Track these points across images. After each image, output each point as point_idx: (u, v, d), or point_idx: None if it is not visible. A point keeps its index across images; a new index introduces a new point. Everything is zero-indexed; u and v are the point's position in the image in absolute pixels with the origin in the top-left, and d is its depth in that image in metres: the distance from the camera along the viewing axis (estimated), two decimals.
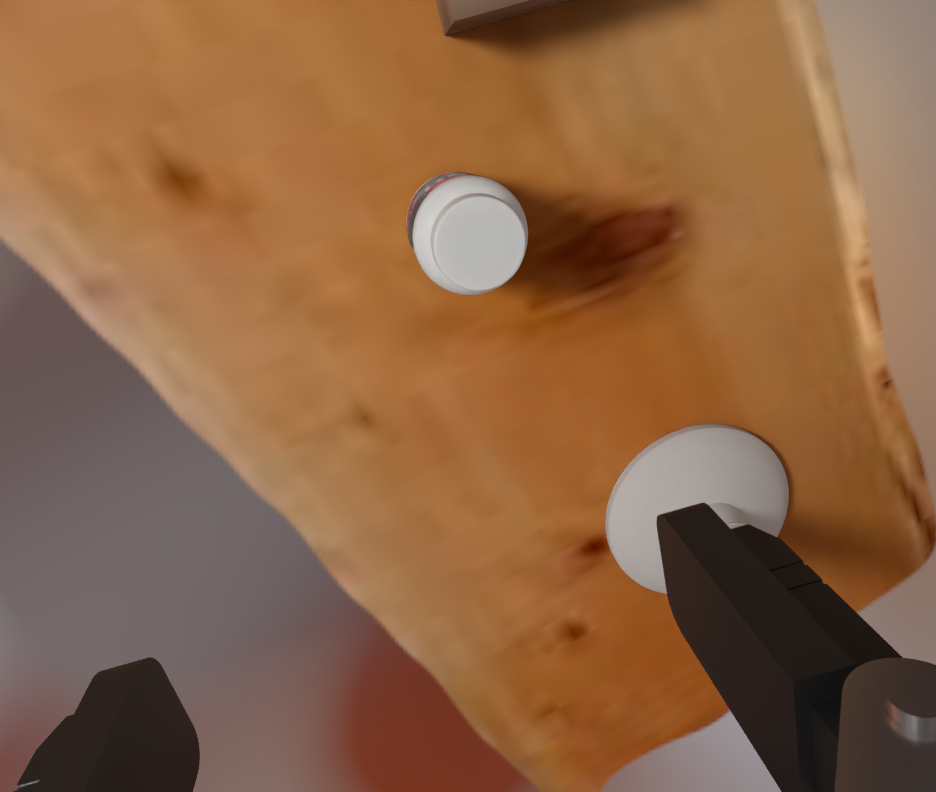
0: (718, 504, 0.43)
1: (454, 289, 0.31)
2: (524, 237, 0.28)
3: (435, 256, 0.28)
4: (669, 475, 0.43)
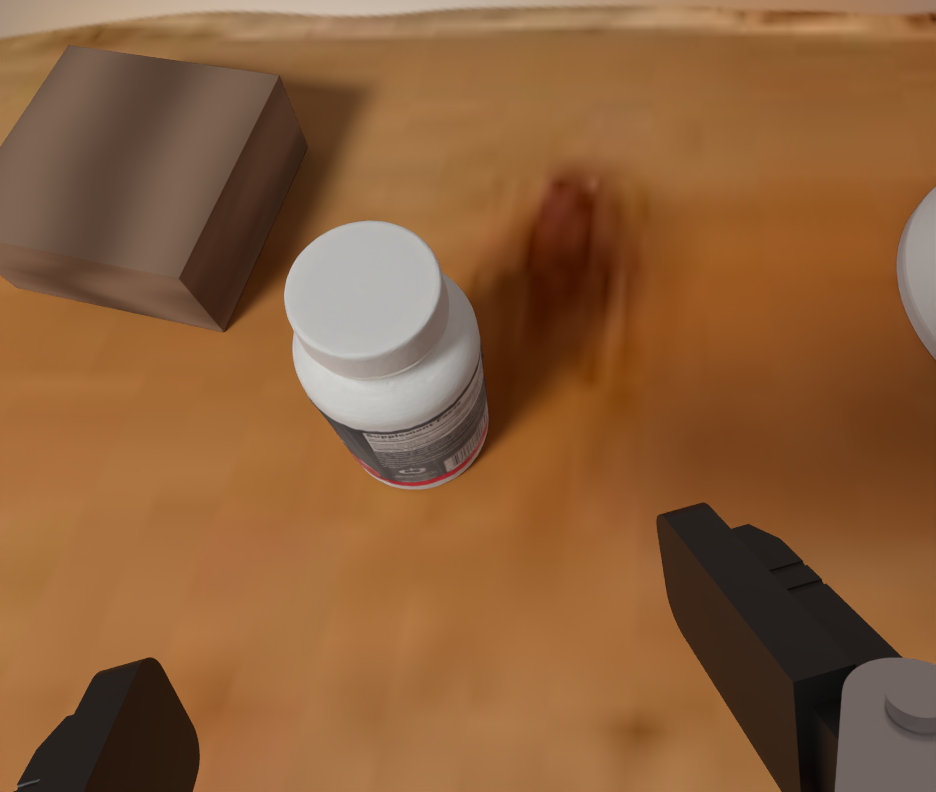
0: None
1: (436, 392, 0.18)
2: (393, 224, 0.17)
3: (335, 356, 0.16)
4: None
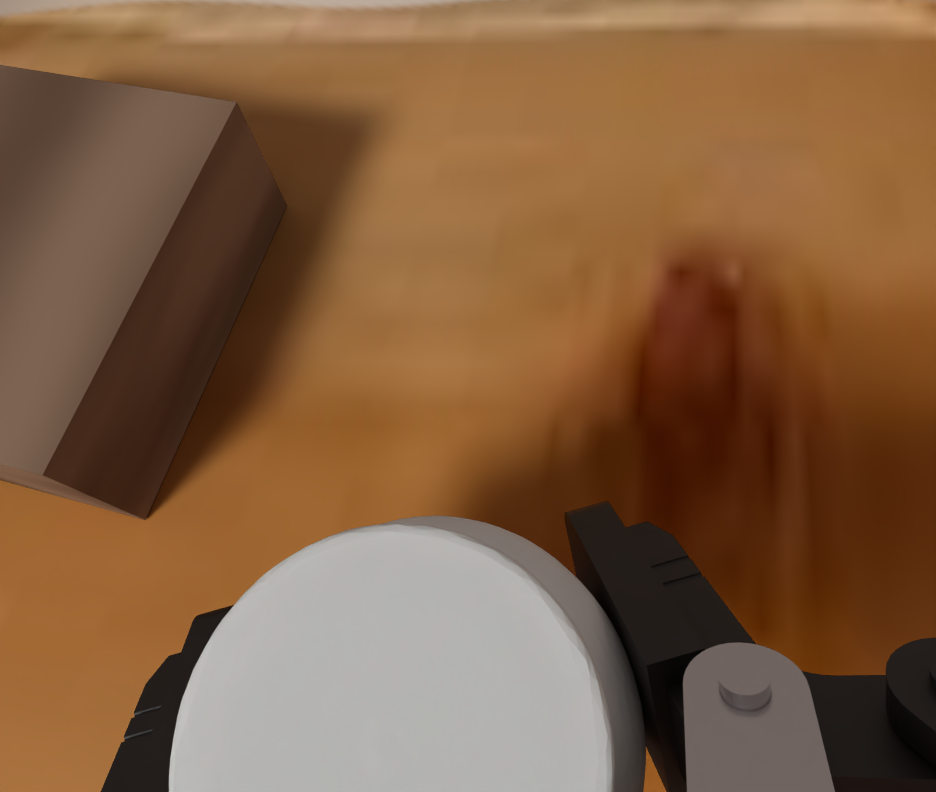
0: None
1: None
2: (467, 541, 0.07)
3: None
4: None
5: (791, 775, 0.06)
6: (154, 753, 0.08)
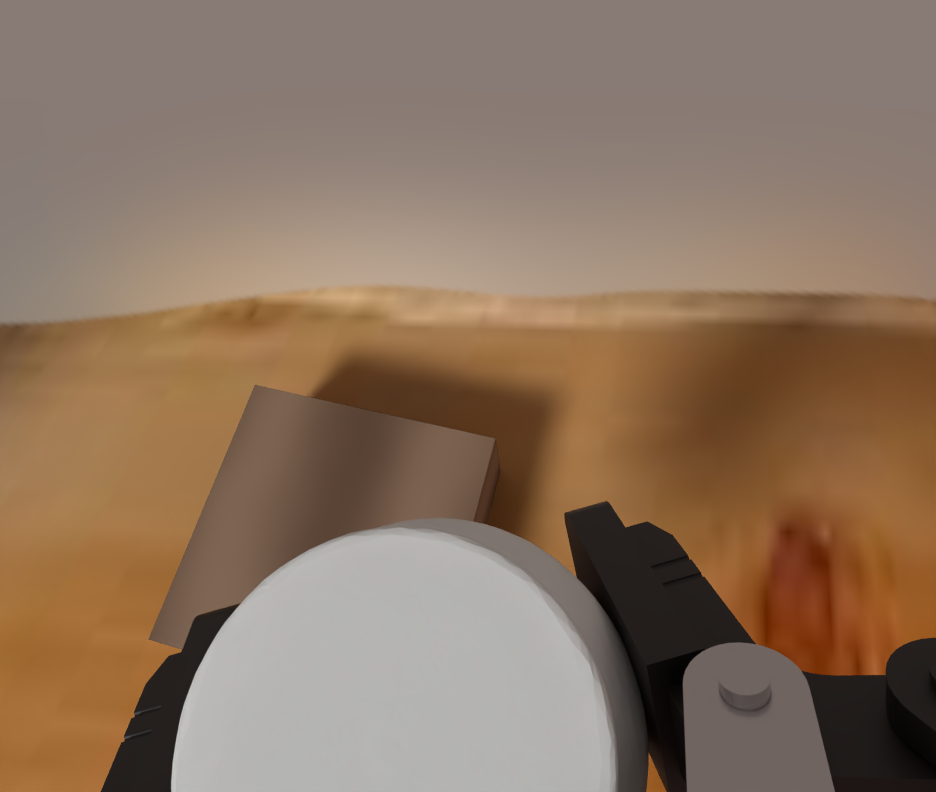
0: None
1: None
2: (470, 545, 0.07)
3: None
4: None
5: (791, 775, 0.06)
6: (154, 753, 0.08)
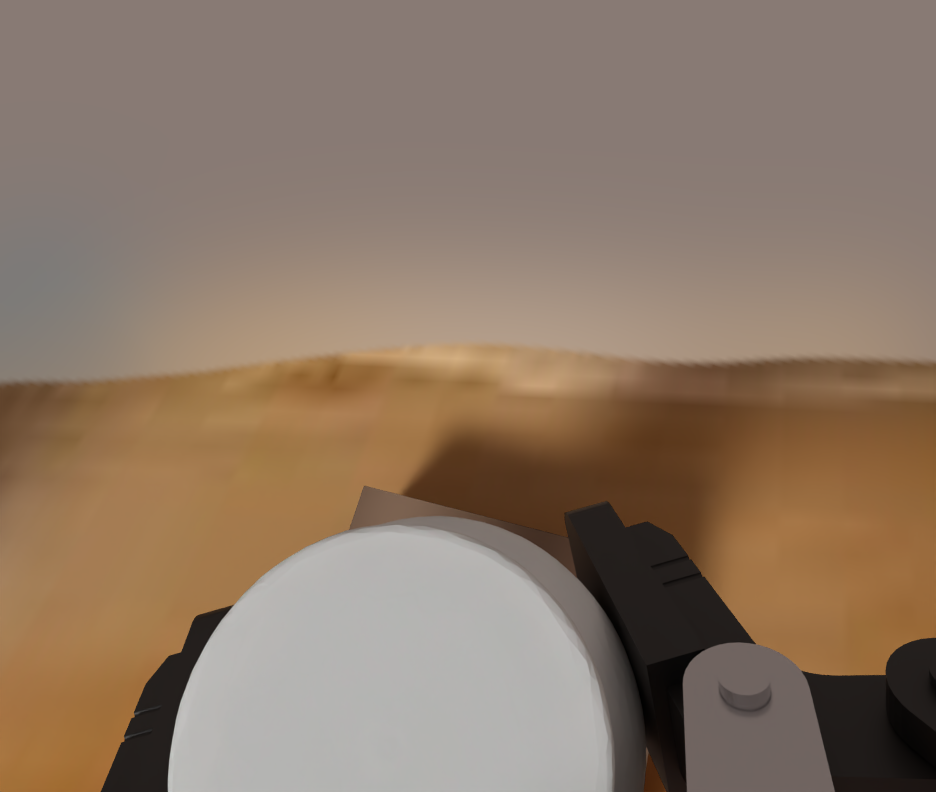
0: None
1: None
2: (467, 542, 0.07)
3: None
4: None
5: (791, 775, 0.06)
6: (154, 753, 0.08)
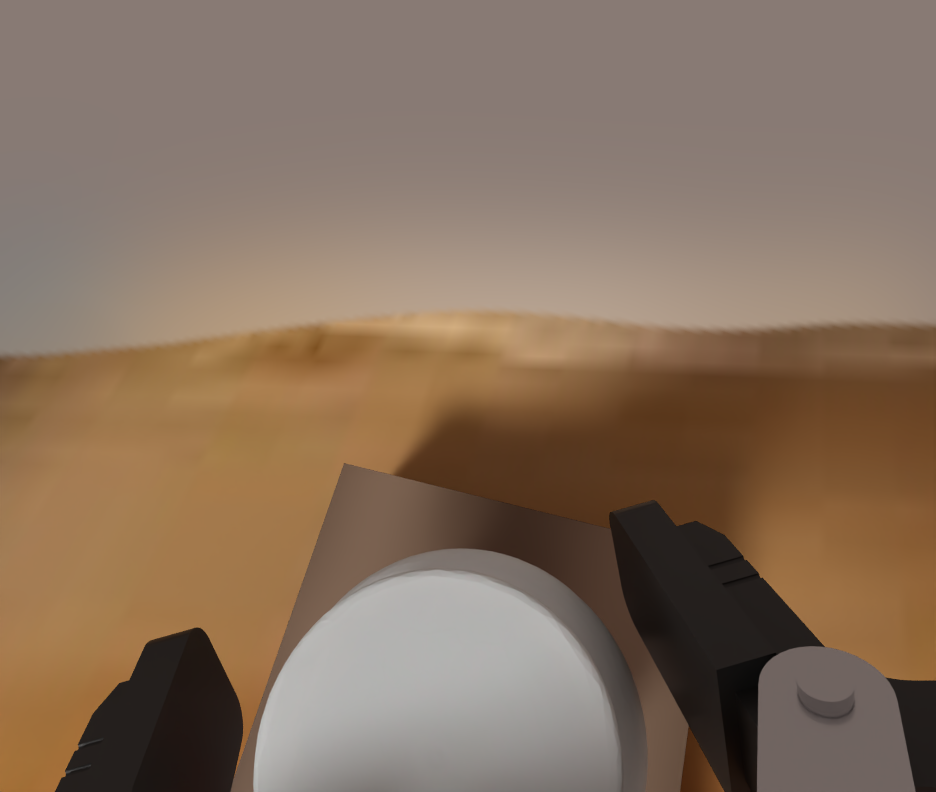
0: None
1: None
2: (498, 585, 0.08)
3: None
4: None
5: (887, 786, 0.06)
6: None
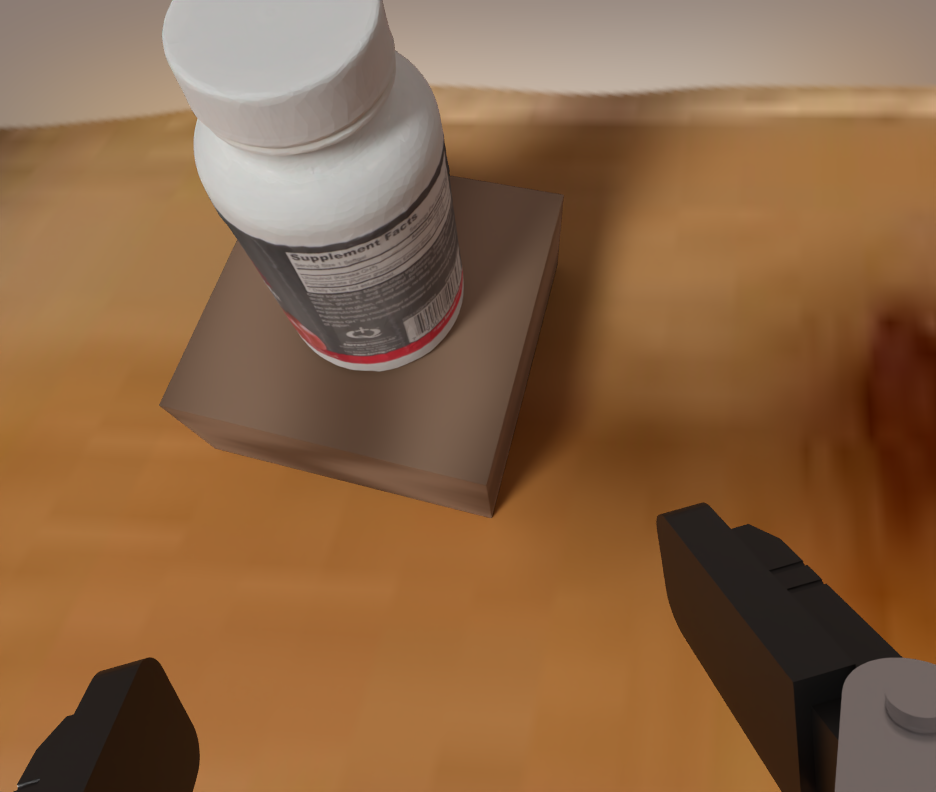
0: None
1: (381, 186, 0.13)
2: None
3: (228, 100, 0.11)
4: None
5: None
6: None
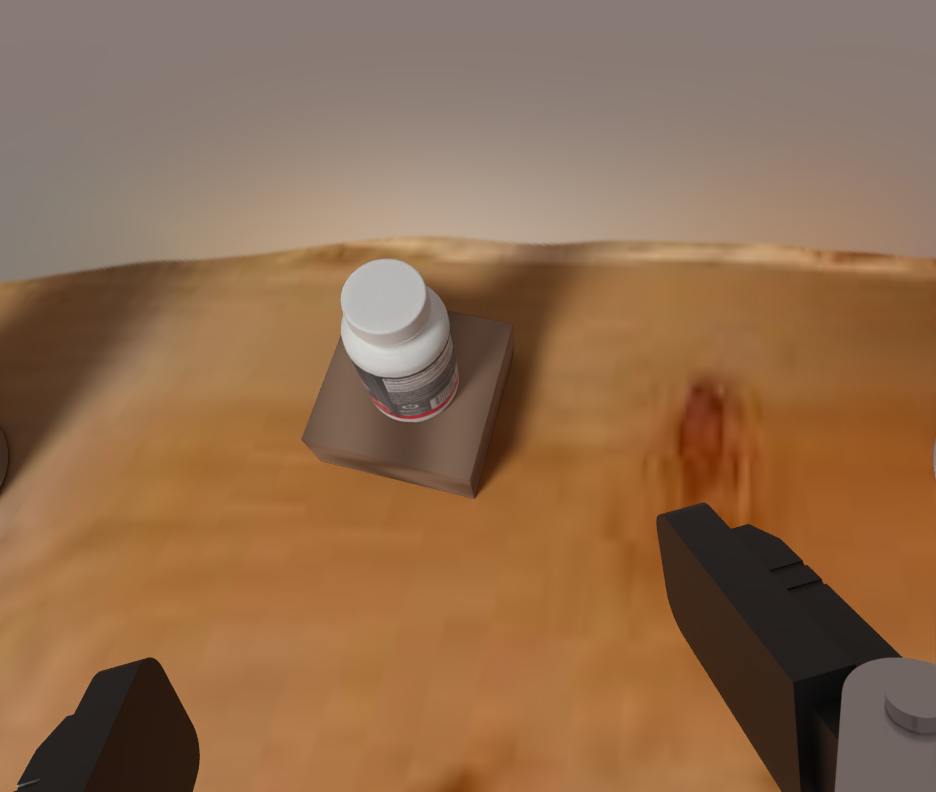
0: None
1: (424, 354, 0.32)
2: (399, 261, 0.31)
3: (369, 332, 0.30)
4: None
5: None
6: None
